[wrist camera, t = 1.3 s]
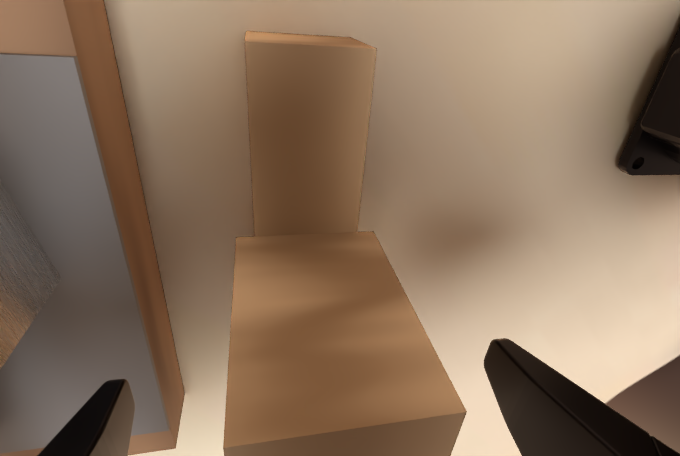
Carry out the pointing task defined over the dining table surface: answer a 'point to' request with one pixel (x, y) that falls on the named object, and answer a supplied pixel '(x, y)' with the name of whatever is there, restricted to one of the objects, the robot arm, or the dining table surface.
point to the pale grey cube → (20, 275)
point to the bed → (80, 232)
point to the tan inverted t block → (322, 277)
